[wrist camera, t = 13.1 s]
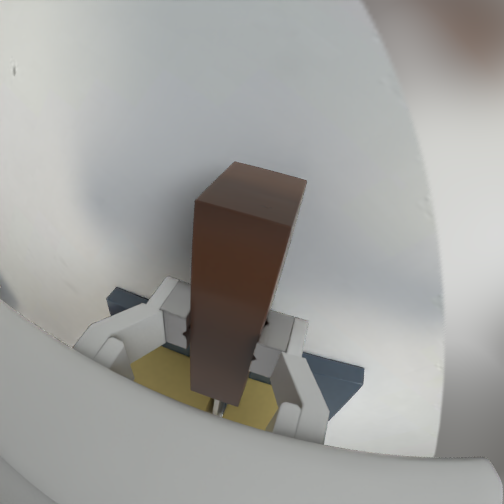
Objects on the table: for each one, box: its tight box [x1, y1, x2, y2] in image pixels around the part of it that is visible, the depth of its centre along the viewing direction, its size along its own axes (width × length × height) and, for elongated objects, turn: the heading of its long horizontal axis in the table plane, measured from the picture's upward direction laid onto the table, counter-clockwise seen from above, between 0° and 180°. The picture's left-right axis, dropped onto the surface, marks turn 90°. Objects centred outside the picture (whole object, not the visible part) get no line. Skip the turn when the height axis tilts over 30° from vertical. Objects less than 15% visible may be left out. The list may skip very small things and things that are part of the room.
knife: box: [190, 162, 307, 417], centre depth 15 cm, size 21×2×3 cm, turn 171°
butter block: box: [130, 346, 214, 414], centre depth 18 cm, size 5×7×4 cm
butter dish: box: [106, 287, 364, 421], centre depth 20 cm, size 10×16×1 cm, turn 81°
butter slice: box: [222, 378, 278, 431], centre depth 17 cm, size 5×4×4 cm
